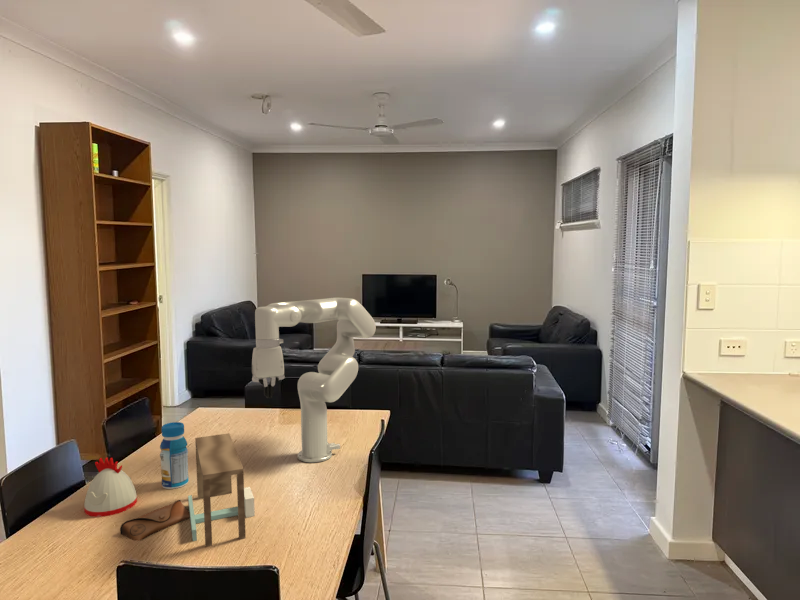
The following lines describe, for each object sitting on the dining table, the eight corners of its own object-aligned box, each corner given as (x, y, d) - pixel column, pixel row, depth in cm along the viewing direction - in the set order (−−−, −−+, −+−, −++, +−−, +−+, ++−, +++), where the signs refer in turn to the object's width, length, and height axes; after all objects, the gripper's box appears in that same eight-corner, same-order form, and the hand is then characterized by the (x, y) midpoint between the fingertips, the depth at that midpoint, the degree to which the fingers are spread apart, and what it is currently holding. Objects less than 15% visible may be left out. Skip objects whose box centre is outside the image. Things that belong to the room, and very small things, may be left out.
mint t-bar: (246, 494, 166) (246, 477, 166) (258, 527, 146) (258, 508, 146) (188, 505, 159) (187, 488, 159) (192, 541, 139) (191, 521, 139)
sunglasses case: (136, 543, 138) (128, 519, 140) (125, 549, 142) (117, 525, 143) (197, 515, 153) (189, 493, 155) (185, 521, 157) (177, 500, 158)
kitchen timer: (105, 494, 167) (102, 448, 166) (146, 496, 166) (144, 450, 164) (73, 516, 153) (70, 466, 152) (118, 518, 152) (115, 468, 151)
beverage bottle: (184, 489, 170) (181, 428, 169) (157, 490, 170) (154, 429, 168) (192, 478, 179) (190, 420, 177) (166, 479, 178) (164, 421, 176)
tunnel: (231, 492, 168) (229, 433, 167) (245, 538, 141) (243, 468, 139) (197, 498, 164) (195, 437, 162) (205, 547, 137) (202, 475, 135)
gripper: (287, 340, 184) (288, 392, 185) (242, 343, 177) (244, 397, 179) (292, 343, 177) (293, 397, 178) (246, 347, 171) (247, 402, 172)
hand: (269, 397), depth 179 cm, fingers closed
